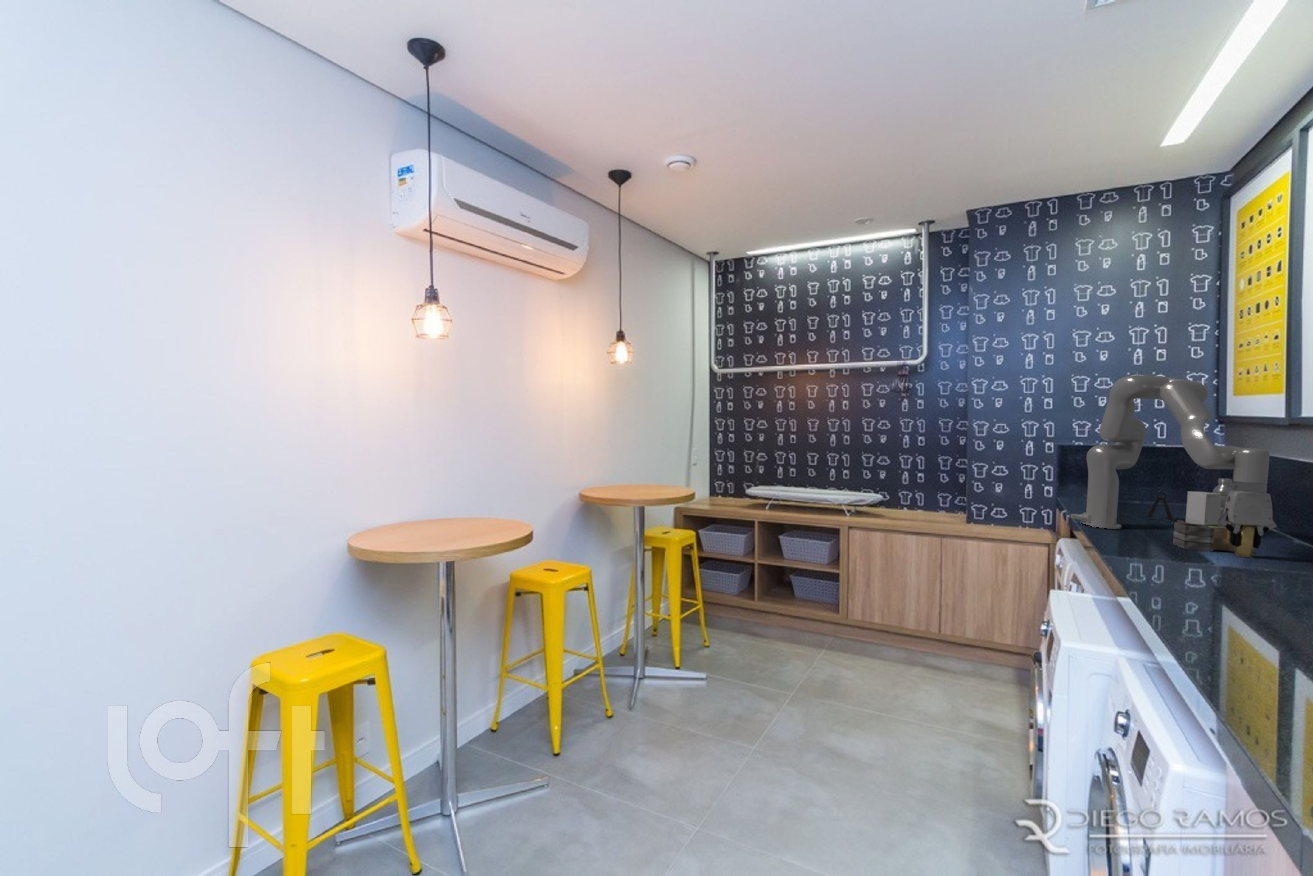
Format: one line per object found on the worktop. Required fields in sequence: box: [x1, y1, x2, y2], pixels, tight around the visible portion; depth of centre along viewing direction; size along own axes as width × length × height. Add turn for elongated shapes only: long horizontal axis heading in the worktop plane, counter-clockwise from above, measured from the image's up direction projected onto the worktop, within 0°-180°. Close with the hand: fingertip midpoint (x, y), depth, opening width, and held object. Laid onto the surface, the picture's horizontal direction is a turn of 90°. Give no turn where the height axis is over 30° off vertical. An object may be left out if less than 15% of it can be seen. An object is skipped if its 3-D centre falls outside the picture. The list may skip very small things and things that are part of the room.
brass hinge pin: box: [1234, 525, 1255, 558], centre depth 184 cm, size 5×5×12 cm
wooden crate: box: [1173, 526, 1235, 553], centre depth 193 cm, size 14×8×7 cm, turn 70°
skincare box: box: [1185, 490, 1221, 527], centre depth 218 cm, size 8×7×16 cm
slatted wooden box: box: [1172, 519, 1215, 553], centre depth 197 cm, size 8×14×8 cm, turn 160°
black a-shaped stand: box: [1145, 490, 1175, 522], centre depth 248 cm, size 9×6×12 cm, turn 48°
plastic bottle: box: [1212, 477, 1233, 527], centre depth 225 cm, size 6×7×20 cm
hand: (1244, 545), depth 184 cm, fingers closed on brass hinge pin, 4 cm apart
